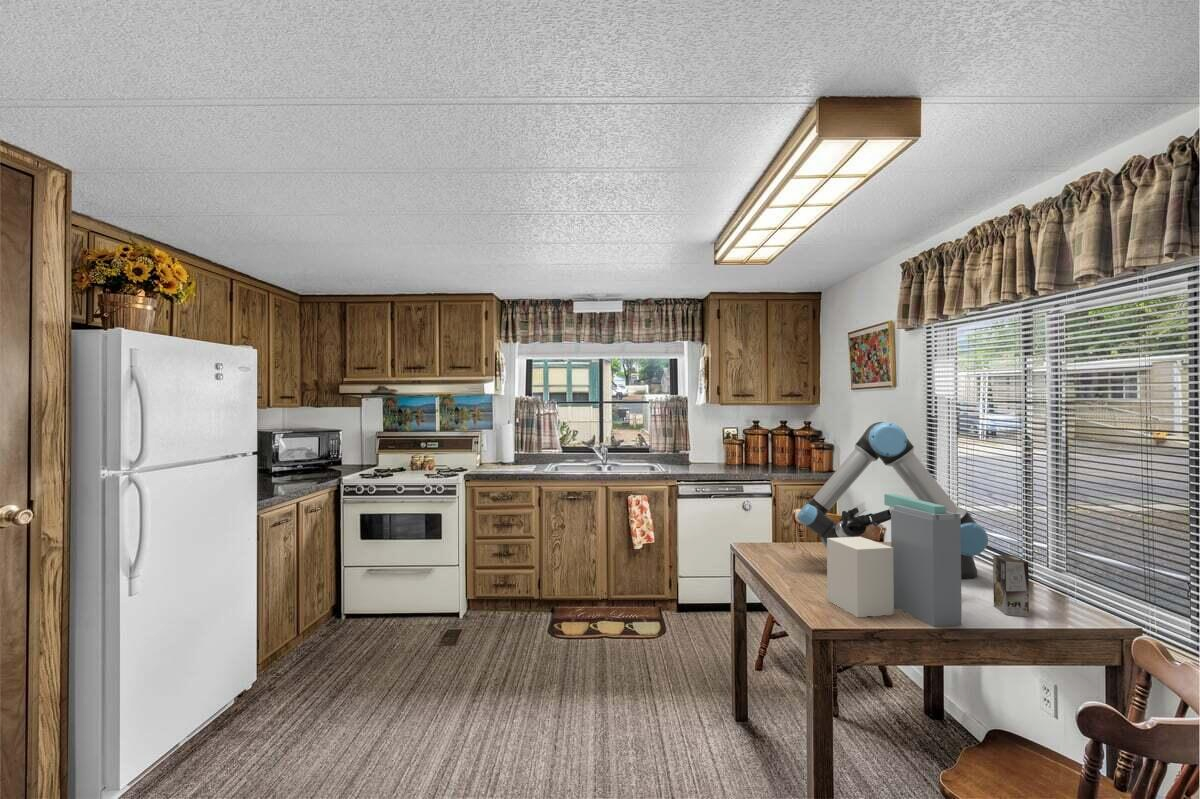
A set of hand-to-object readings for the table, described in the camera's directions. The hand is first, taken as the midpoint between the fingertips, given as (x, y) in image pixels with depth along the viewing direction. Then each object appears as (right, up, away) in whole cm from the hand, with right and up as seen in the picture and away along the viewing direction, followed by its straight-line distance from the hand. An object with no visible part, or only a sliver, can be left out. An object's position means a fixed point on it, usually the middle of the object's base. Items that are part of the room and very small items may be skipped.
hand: (883, 505), depth 200 cm
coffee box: (+32, -30, -14) cm, 46 cm away
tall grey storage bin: (+4, -30, -18) cm, 35 cm away
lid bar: (+3, 0, -12) cm, 13 cm away
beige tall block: (-13, -30, -11) cm, 34 cm away
